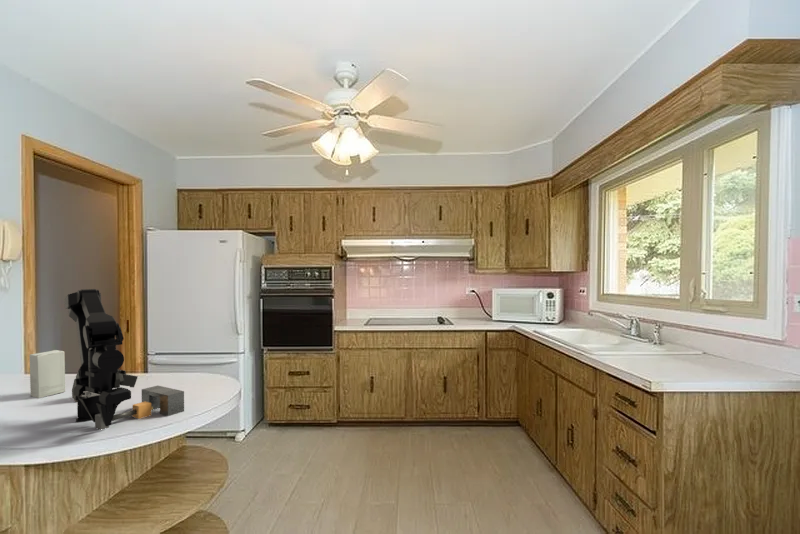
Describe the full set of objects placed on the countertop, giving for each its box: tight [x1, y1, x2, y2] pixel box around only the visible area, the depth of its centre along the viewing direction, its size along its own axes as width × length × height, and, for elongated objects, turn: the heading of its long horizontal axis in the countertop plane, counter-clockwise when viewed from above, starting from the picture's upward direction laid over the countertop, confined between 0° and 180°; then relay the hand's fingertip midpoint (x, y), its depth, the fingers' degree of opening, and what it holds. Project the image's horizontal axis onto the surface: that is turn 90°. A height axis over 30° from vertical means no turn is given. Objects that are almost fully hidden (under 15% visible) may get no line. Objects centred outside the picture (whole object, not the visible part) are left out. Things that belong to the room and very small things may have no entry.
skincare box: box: [29, 349, 66, 399], centre depth 148 cm, size 8×6×15 cm
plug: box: [94, 401, 153, 431], centre depth 119 cm, size 14×3×4 cm, turn 149°
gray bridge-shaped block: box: [141, 385, 185, 417], centre depth 128 cm, size 5×14×6 cm, turn 60°
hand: (102, 423), depth 114 cm, fingers open, 6 cm apart
